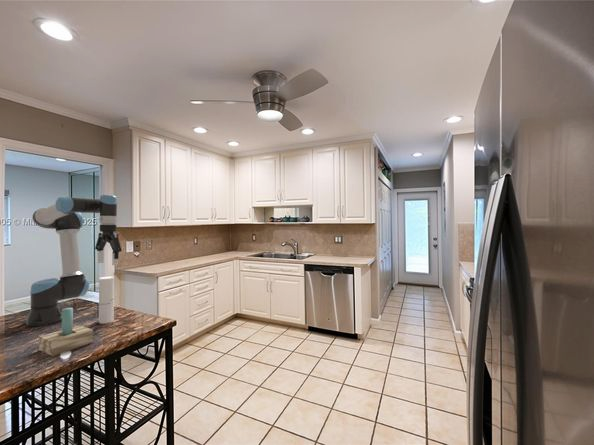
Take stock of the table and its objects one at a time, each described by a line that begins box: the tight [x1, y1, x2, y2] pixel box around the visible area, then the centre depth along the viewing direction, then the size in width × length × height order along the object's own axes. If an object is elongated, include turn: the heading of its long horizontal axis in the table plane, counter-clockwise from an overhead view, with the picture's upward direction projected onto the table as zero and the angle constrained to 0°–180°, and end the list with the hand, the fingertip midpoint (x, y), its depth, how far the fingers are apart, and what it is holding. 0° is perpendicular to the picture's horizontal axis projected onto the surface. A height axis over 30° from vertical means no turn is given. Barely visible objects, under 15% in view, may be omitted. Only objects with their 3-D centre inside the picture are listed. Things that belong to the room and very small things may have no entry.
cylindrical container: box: [98, 276, 115, 324], centre depth 167 cm, size 7×7×25 cm
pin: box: [61, 307, 74, 336], centre depth 134 cm, size 4×4×14 cm
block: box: [38, 324, 94, 357], centre depth 134 cm, size 12×16×6 cm
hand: (107, 264), depth 155 cm, fingers open, 13 cm apart
